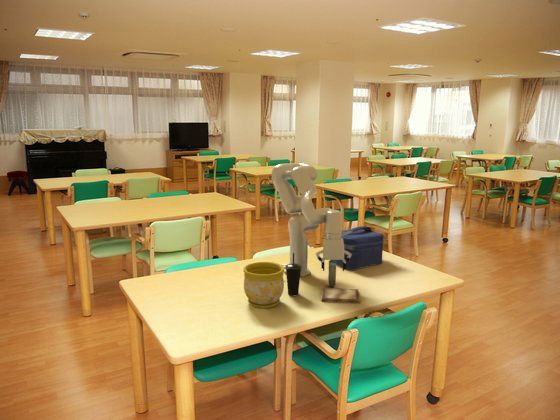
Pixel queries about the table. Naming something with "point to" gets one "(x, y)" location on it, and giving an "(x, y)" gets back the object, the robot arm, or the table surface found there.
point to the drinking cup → (293, 277)
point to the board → (340, 295)
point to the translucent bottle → (332, 274)
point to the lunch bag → (362, 247)
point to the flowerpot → (263, 283)
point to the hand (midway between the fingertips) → (333, 270)
